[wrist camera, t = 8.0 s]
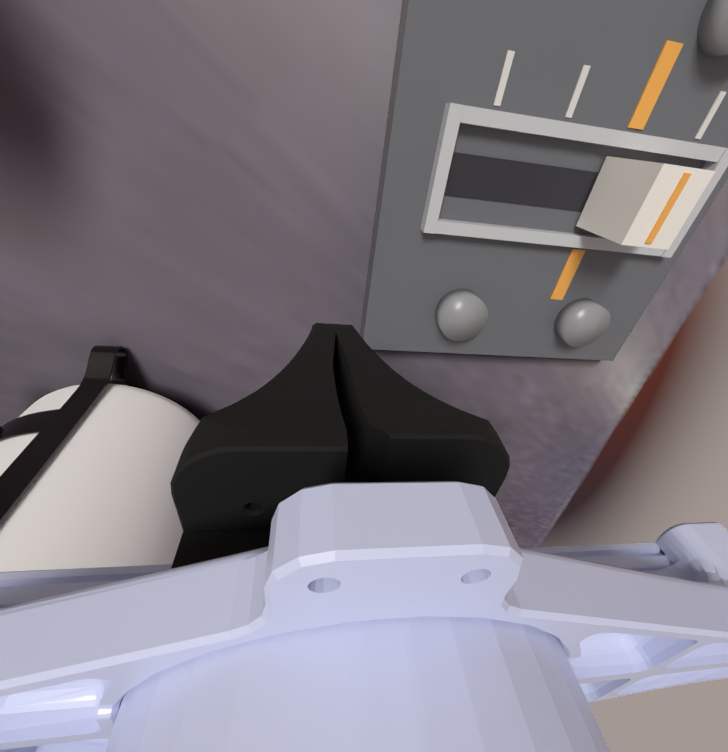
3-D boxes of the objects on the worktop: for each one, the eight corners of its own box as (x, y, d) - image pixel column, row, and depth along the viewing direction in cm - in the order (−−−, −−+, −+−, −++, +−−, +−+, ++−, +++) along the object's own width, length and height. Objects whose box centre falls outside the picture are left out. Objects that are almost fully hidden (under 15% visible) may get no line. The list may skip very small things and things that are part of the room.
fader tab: (616, 230, 19) (669, 250, 16) (575, 226, 19) (622, 245, 16) (651, 162, 17) (717, 171, 14) (606, 155, 17) (665, 163, 14)
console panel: (599, 349, 26) (624, 370, 24) (359, 337, 23) (364, 359, 21) (840, -60, 15) (931, -91, 13) (426, -181, 12) (449, -248, 10)
